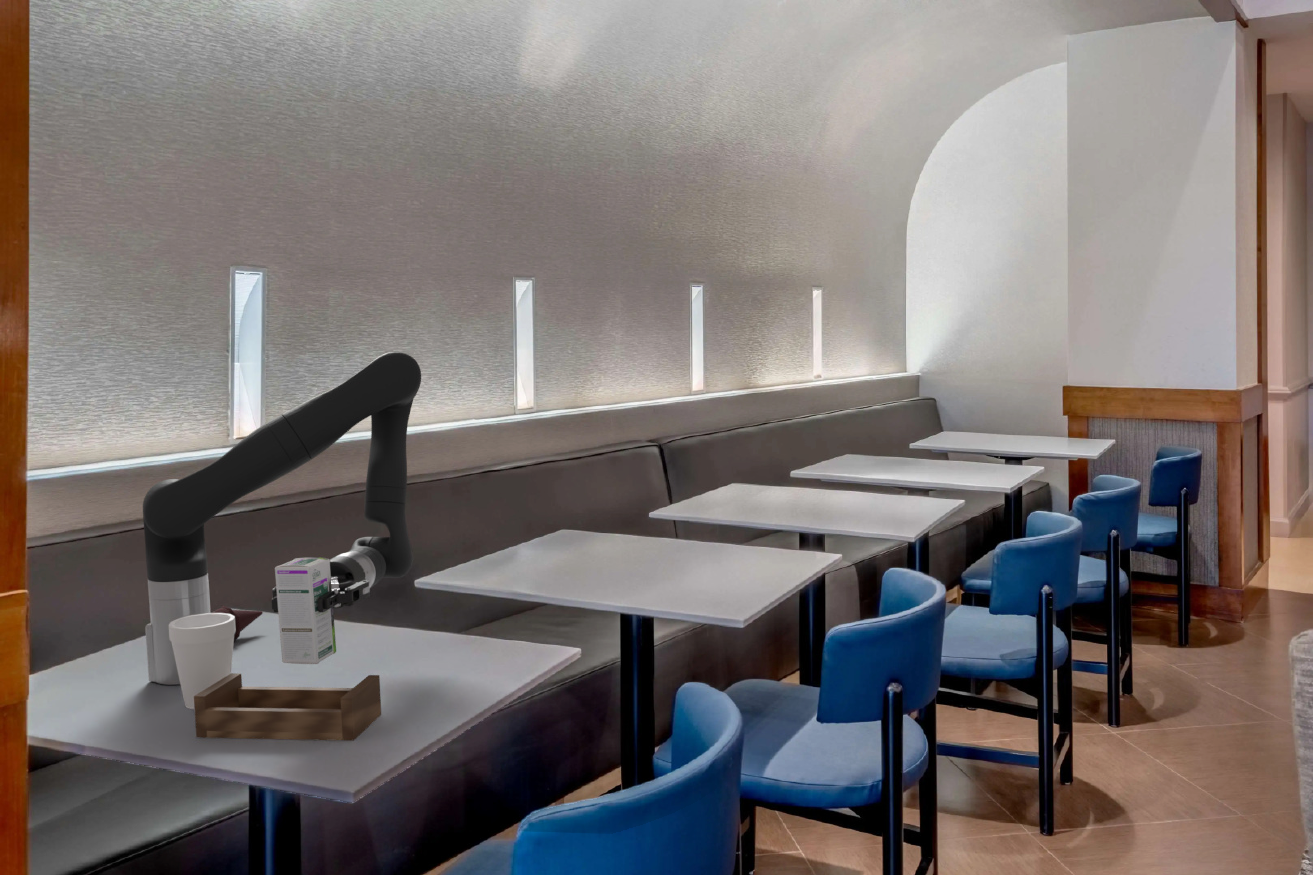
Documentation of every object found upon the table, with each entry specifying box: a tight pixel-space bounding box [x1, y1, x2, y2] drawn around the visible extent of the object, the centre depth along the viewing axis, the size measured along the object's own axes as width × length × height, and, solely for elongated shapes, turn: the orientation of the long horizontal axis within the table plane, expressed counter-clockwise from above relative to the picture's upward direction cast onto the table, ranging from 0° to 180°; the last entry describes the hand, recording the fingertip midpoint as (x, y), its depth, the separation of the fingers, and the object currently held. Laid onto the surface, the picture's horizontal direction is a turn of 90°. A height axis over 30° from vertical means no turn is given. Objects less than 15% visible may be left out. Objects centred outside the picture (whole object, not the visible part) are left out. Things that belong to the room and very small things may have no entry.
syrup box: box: [274, 556, 337, 665], centre depth 156 cm, size 6×6×14 cm
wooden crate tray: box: [194, 672, 382, 742], centre depth 154 cm, size 23×10×6 cm, turn 83°
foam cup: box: [169, 612, 236, 710], centre depth 165 cm, size 10×9×13 cm
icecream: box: [211, 605, 264, 641], centre depth 201 cm, size 7×7×15 cm
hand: (298, 605), depth 153 cm, fingers closed on syrup box, 6 cm apart
